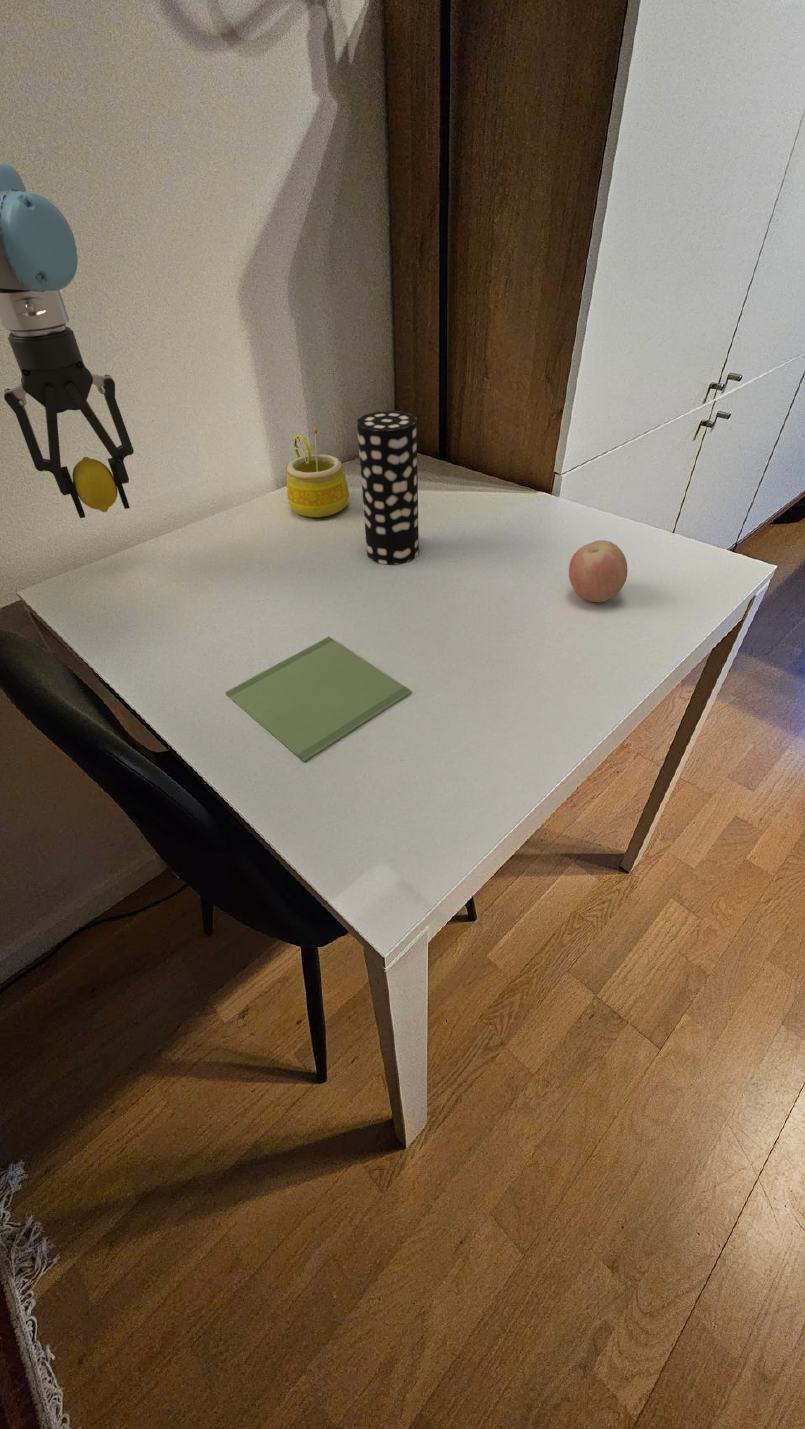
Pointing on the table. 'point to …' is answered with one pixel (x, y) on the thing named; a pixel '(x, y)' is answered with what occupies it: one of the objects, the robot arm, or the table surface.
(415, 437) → the white-spotted black cylinder
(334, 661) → the napkin
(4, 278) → the robot arm
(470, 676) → the table surface
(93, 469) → the lemon
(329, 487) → the yellow pot
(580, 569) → the apple
